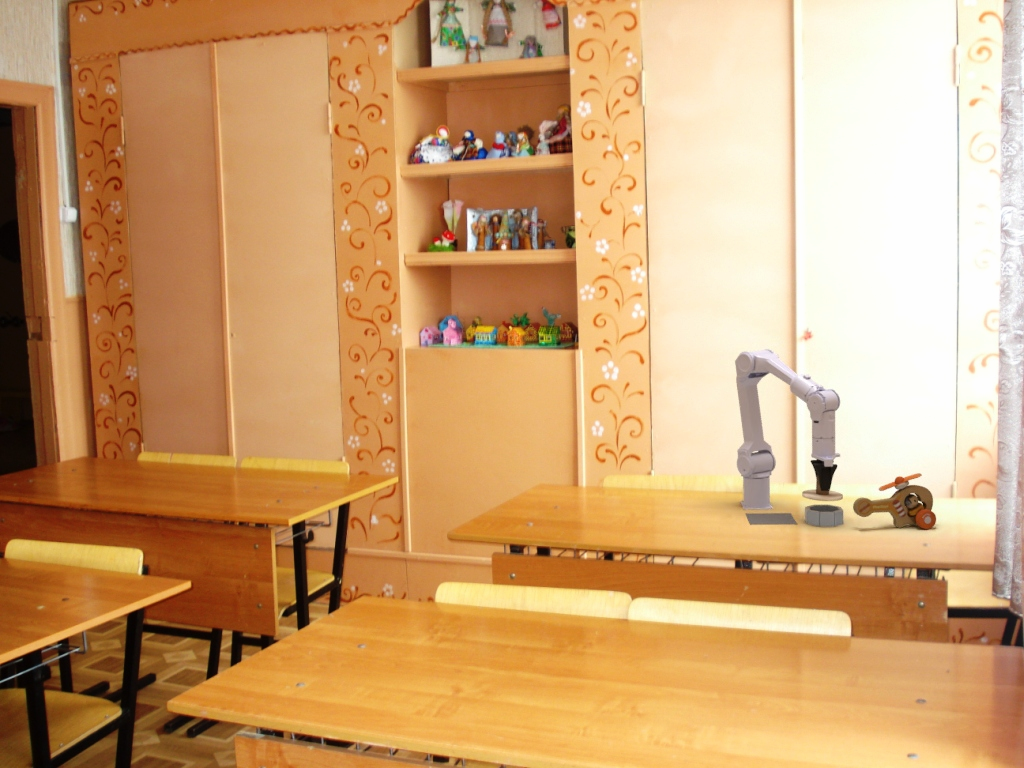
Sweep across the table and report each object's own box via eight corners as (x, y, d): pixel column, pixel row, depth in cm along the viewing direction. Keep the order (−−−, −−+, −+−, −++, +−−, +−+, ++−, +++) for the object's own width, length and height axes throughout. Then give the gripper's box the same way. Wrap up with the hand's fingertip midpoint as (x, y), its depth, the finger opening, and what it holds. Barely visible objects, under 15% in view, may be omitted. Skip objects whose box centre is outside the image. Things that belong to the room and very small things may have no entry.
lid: (799, 491, 262) (800, 471, 261) (839, 493, 260) (839, 473, 260) (805, 500, 252) (805, 479, 252) (845, 501, 251) (846, 480, 250)
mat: (745, 514, 269) (745, 513, 269) (790, 514, 268) (790, 513, 268) (750, 525, 258) (750, 524, 257) (797, 525, 256) (797, 524, 256)
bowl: (803, 519, 262) (803, 504, 262) (838, 519, 261) (838, 504, 260) (809, 528, 253) (808, 512, 253) (845, 527, 252) (845, 512, 251)
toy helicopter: (940, 528, 248) (941, 474, 246) (862, 534, 245) (862, 480, 244) (922, 521, 256) (923, 468, 255) (847, 526, 253) (846, 473, 252)
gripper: (845, 441, 247) (845, 494, 248) (834, 432, 261) (834, 483, 263) (816, 441, 248) (816, 495, 249) (806, 432, 262) (807, 483, 264)
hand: (823, 489), depth 256 cm, fingers closed on lid, 3 cm apart
